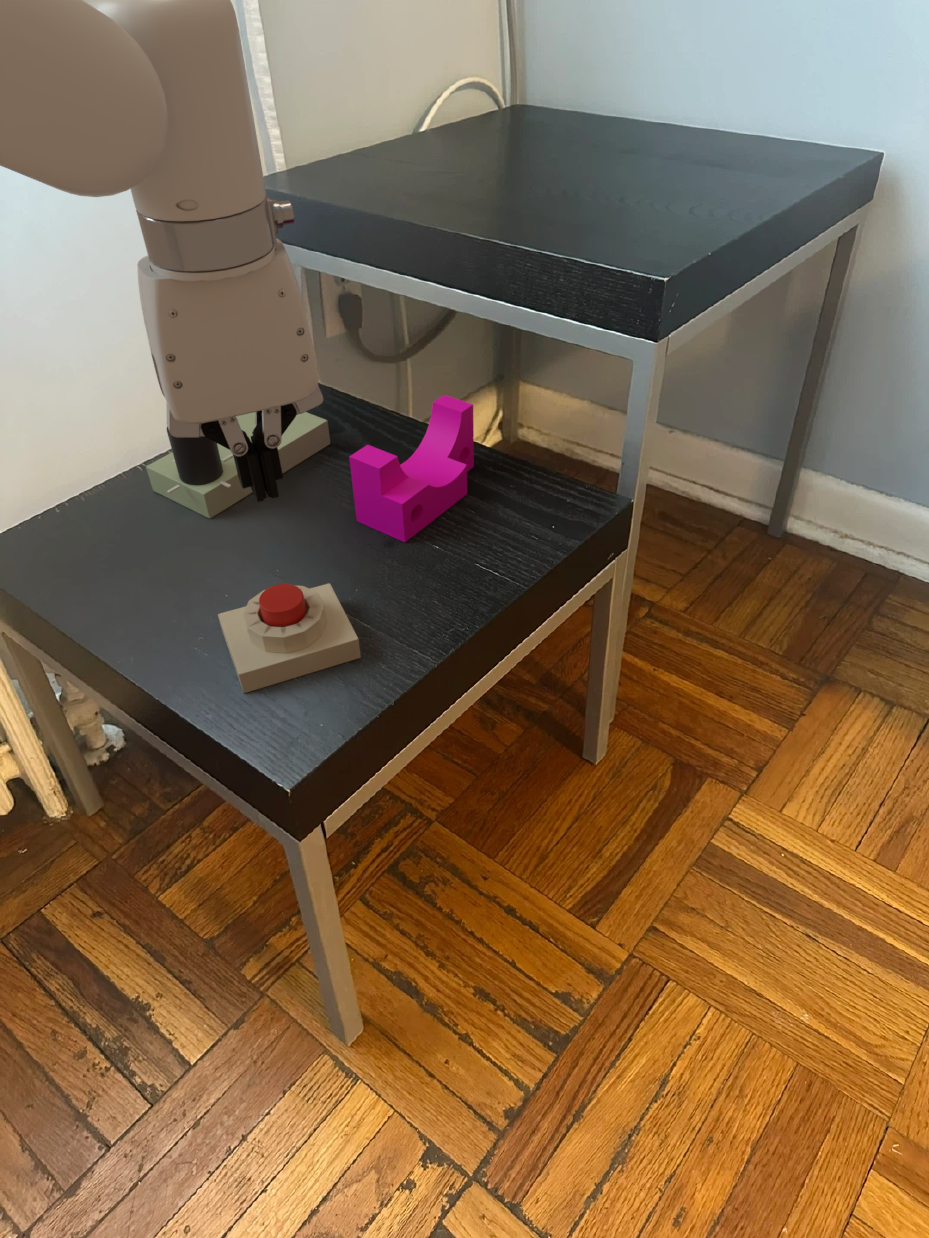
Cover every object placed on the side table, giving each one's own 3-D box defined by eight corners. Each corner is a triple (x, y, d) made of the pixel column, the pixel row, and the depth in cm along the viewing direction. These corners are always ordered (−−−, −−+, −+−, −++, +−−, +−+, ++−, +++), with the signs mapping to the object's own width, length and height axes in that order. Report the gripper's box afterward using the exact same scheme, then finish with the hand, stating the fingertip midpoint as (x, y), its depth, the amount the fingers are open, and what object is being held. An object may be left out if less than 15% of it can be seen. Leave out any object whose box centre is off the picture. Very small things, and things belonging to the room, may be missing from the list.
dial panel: (203, 532, 88) (196, 505, 86) (138, 498, 92) (130, 473, 90) (338, 447, 100) (335, 422, 97) (274, 421, 104) (270, 397, 102)
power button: (268, 633, 71) (264, 616, 70) (257, 606, 74) (254, 590, 72) (311, 620, 72) (308, 604, 71) (299, 594, 75) (296, 578, 74)
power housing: (243, 693, 71) (234, 658, 68) (222, 632, 77) (213, 597, 74) (361, 657, 74) (356, 622, 71) (332, 601, 80) (327, 566, 77)
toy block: (405, 542, 86) (400, 477, 81) (356, 521, 89) (349, 456, 84) (492, 474, 95) (493, 411, 90) (446, 456, 98) (444, 394, 93)
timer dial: (197, 490, 88) (184, 439, 84) (170, 475, 90) (156, 425, 86) (232, 471, 90) (220, 420, 87) (204, 457, 93) (192, 407, 89)
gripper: (311, 197, 57) (344, 443, 70) (72, 235, 53) (152, 489, 66) (347, 233, 52) (375, 491, 65) (86, 277, 48) (170, 545, 60)
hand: (263, 489), depth 65 cm, fingers closed
